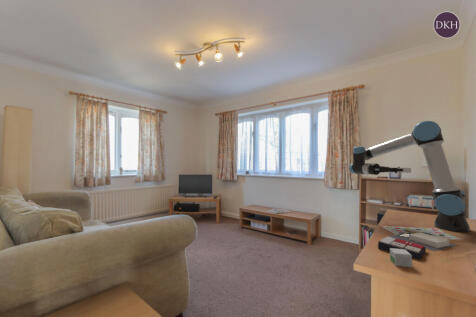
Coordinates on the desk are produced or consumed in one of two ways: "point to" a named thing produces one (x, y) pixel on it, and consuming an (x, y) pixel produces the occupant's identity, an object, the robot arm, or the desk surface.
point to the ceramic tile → (429, 240)
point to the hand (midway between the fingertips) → (410, 170)
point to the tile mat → (420, 243)
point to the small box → (401, 257)
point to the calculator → (402, 246)
